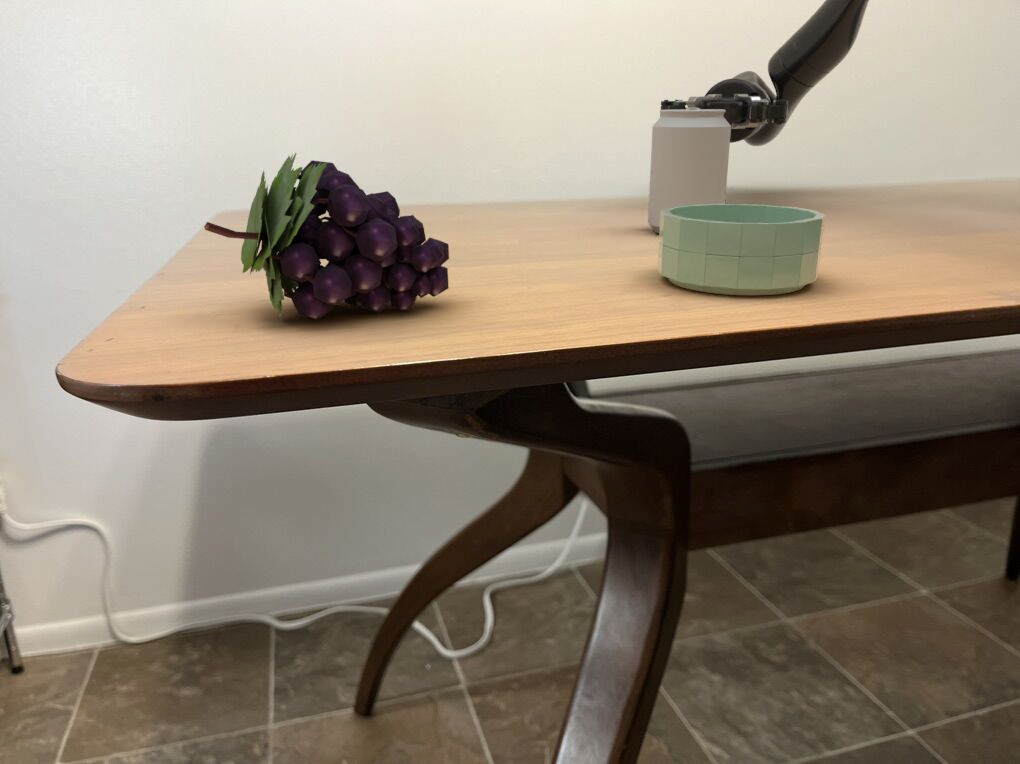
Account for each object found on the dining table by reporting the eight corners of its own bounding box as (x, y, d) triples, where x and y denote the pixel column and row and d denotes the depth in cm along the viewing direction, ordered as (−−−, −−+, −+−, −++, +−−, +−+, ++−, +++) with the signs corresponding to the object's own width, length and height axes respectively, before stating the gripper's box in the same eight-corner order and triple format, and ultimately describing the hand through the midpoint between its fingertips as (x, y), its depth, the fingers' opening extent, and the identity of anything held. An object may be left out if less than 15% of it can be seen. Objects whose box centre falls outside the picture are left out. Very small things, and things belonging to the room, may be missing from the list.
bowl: (791, 266, 65) (797, 203, 63) (837, 298, 54) (847, 223, 53) (650, 266, 65) (653, 203, 64) (669, 297, 55) (673, 223, 53)
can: (644, 236, 80) (650, 108, 76) (650, 226, 87) (656, 107, 83) (722, 239, 78) (733, 107, 74) (722, 228, 85) (732, 107, 81)
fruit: (447, 364, 51) (195, 331, 45) (407, 301, 60) (192, 266, 54) (492, 208, 48) (225, 147, 41) (443, 165, 56) (216, 110, 50)
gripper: (681, 80, 105) (652, 77, 91) (797, 78, 100) (785, 75, 86) (678, 140, 107) (648, 147, 93) (791, 142, 102) (778, 149, 88)
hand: (714, 112), depth 89 cm, fingers open, 8 cm apart
